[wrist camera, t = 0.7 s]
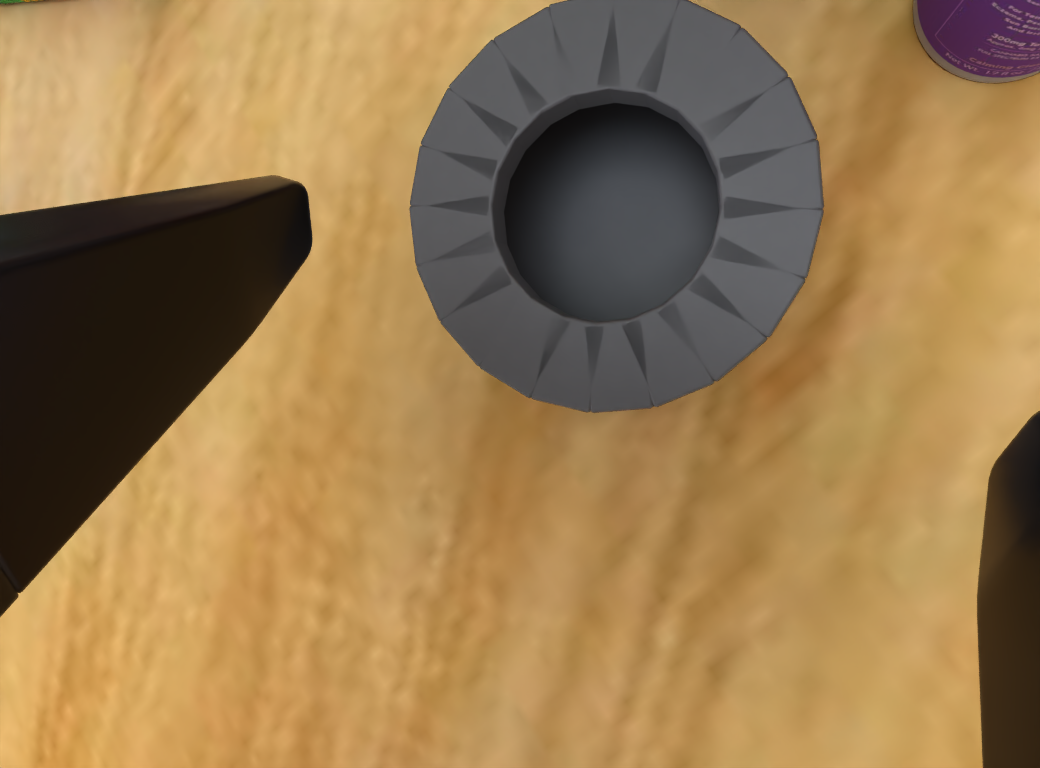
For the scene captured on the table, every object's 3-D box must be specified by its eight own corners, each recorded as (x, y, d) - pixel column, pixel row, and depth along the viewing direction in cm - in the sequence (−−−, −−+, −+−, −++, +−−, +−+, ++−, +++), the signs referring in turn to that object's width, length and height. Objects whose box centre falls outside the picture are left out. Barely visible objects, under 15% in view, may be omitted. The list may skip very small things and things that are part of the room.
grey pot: (808, 377, 22) (839, 394, 17) (492, 403, 25) (433, 425, 19) (780, 38, 22) (803, -56, 16) (459, 102, 24) (389, 40, 19)
